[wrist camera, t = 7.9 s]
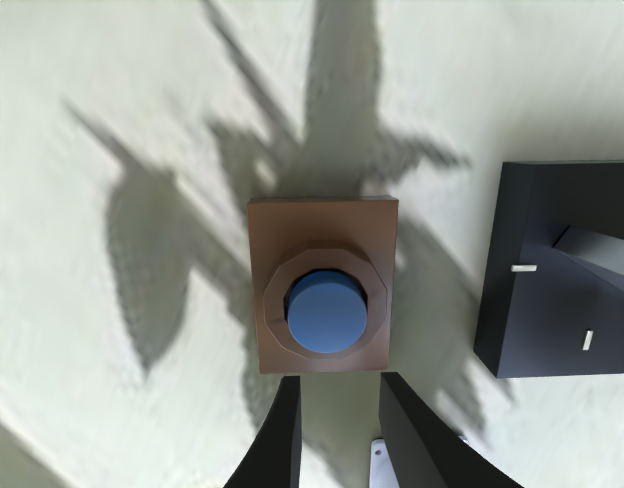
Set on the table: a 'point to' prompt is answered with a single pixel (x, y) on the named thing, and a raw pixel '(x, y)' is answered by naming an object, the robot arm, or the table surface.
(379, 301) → the button block
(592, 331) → the tap deck
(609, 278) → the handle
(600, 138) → the table surface
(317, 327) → the button
